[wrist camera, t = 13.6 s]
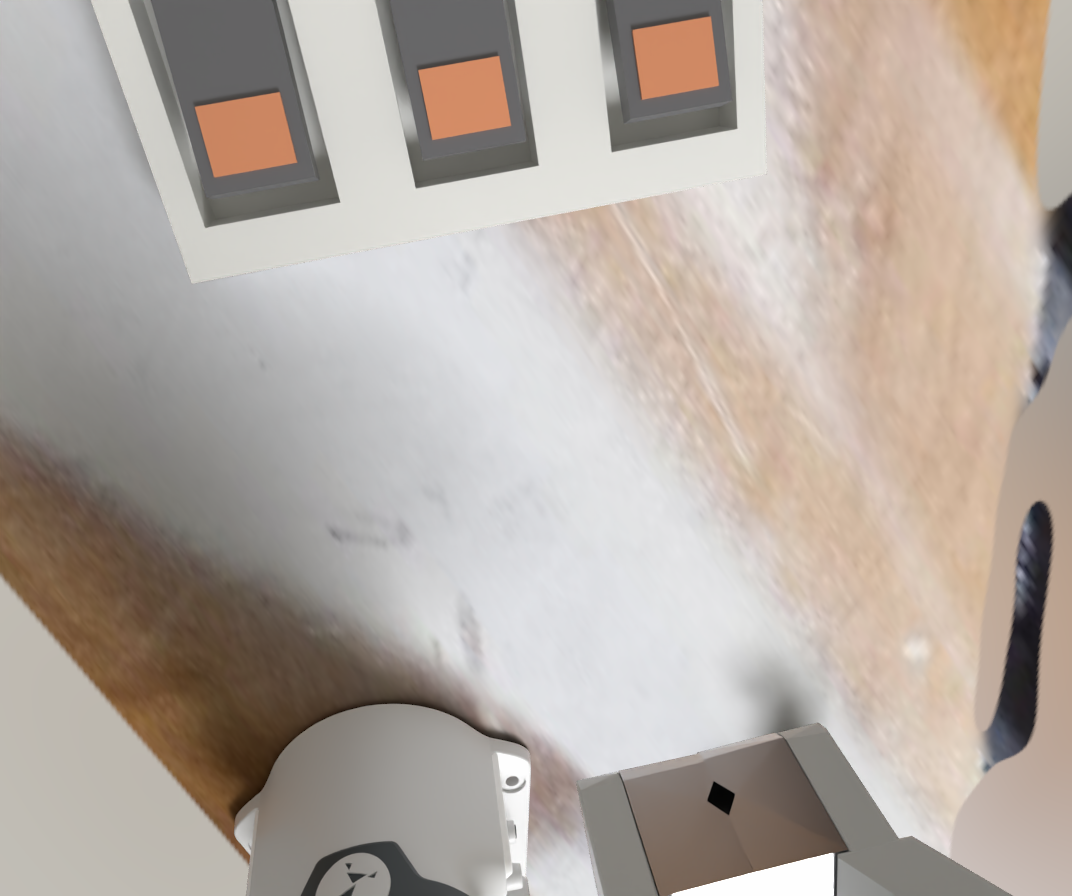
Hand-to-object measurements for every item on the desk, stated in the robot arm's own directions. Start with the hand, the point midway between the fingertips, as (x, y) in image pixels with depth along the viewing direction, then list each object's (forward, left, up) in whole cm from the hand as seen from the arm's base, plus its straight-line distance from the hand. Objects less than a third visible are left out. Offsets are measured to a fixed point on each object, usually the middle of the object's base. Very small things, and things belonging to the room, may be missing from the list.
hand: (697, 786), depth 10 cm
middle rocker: (+11, 0, -27) cm, 29 cm away
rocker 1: (+11, +8, -27) cm, 30 cm away
